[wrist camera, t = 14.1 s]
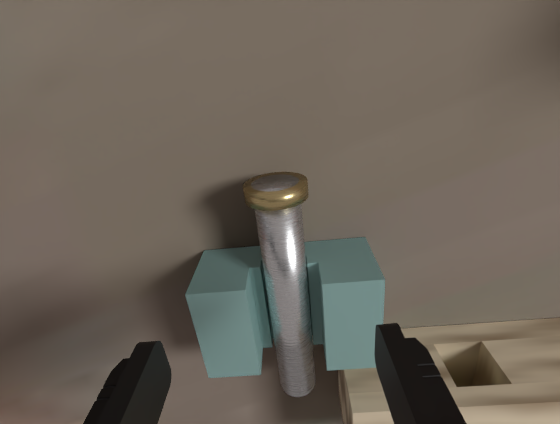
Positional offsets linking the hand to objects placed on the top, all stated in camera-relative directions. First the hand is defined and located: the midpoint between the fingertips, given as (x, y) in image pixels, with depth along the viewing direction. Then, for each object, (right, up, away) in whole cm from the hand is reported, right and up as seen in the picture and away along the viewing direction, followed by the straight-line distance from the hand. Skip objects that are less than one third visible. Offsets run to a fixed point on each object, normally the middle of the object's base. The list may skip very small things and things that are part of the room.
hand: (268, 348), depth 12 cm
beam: (+16, -9, +19) cm, 27 cm away
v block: (+1, -1, +15) cm, 15 cm away
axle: (+1, -1, +13) cm, 13 cm away
